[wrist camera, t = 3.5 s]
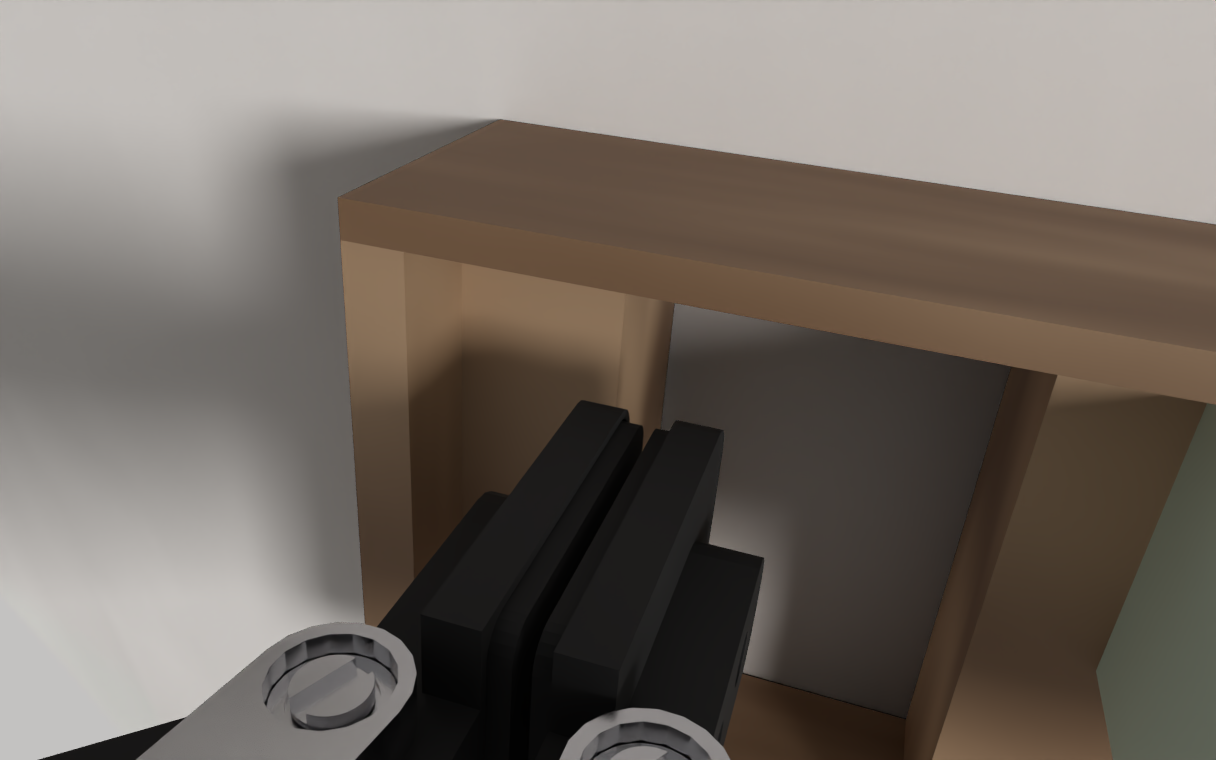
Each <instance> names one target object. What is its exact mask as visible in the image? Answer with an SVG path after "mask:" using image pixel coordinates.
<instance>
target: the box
mask: <svg viewBox="0 0 1216 760" xmlns="http://www.w3.org/2000/svg"><path fill="white" fill-rule="evenodd" d="M338 210H339V226H340V242H341V257H342V273H343V288H344V304H345V320H346V335H347V351H348V366H349V382H350V397H351V413H352V429H353V444H354V460H355V475H356V491H357V507H358V522H359V538H360V553H361V569H362V584H363V600H364V616H365V624H366V625H370V626H373V627H377V626H378V625H379V623H380V622H381V621H382V620H383V618H384V617H385V616H386V614H387V613H388V612H389V611H390V609H391V608H392V607H393V606H394V604H395V603H396V602H397V601H398V599H399V598H400V597H401V596H402V594H403V593H404V592H405V591H406V589H407V588H408V587H409V585H410V584H411V583H412V582H413V580H414V579H415V578H416V577H417V575H418V574H419V573H420V572H421V570H422V569H423V568H424V567H425V565H426V564H427V563H428V562H429V560H430V559H431V558H432V556H433V555H434V554H435V553H436V551H437V550H438V549H439V548H440V546H441V545H442V544H443V543H444V541H445V540H446V539H447V538H448V536H449V535H450V534H451V533H452V531H453V530H454V529H455V527H456V526H457V525H458V524H459V522H460V521H461V520H462V519H463V517H464V516H465V515H466V514H467V512H468V511H469V510H470V509H471V507H472V506H473V505H474V504H475V502H476V501H477V500H478V499H479V498H480V497H481V496H482V495H483V494H484V493H485V492H489V491H494V492H498V493H502V494H506V495H510V493H511V492H512V491H513V489H514V488H515V487H516V485H517V484H518V482H519V481H520V480H521V478H522V477H523V476H524V474H525V473H526V472H527V470H528V469H529V468H530V466H531V465H532V464H533V462H534V461H535V460H536V458H537V457H538V456H539V454H540V453H541V452H542V450H543V449H544V448H545V446H546V445H547V444H548V442H549V441H550V440H551V438H552V437H553V436H554V434H555V433H556V431H557V430H558V429H559V427H560V426H561V425H562V423H563V422H564V421H565V419H566V418H567V417H568V415H569V414H570V413H571V411H572V410H573V409H574V407H575V406H576V405H577V403H578V402H579V401H581V400H586V401H590V402H595V403H600V404H604V405H609V406H613V407H618V408H623V409H627V410H628V412H629V417H630V423H634V424H638V425H642V426H643V430H644V437H643V447H642V451H643V449H644V447H645V445H646V444H647V442H648V440H649V438H650V436H651V435H652V433H653V431H654V430H655V429H661V421H662V412H663V403H664V394H665V385H666V376H667V367H668V358H669V349H670V340H671V331H672V322H673V313H674V304H675V303H677V304H683V305H688V306H693V307H699V308H704V309H709V310H715V311H720V312H725V313H730V314H736V315H741V316H746V317H752V318H757V319H762V320H768V321H773V322H778V323H784V324H789V325H794V326H800V327H805V328H810V329H816V330H821V331H826V332H832V333H837V334H842V335H848V336H853V337H858V338H863V339H869V340H874V341H879V342H885V343H890V344H895V345H901V346H906V347H911V348H917V349H922V350H927V351H933V352H938V353H943V354H949V355H954V356H959V357H965V358H970V359H975V360H980V361H986V362H991V363H996V364H1002V365H1007V366H1012V367H1011V370H1010V373H1009V377H1008V380H1007V383H1006V387H1005V390H1004V393H1003V397H1002V400H1001V403H1000V407H999V410H998V413H997V417H996V420H995V423H994V427H993V430H992V433H991V437H990V440H989V443H988V447H987V450H986V453H985V457H984V460H983V463H982V467H981V470H980V473H979V477H978V480H977V483H976V487H975V490H974V493H973V497H972V500H971V503H970V507H969V510H968V513H967V517H966V520H965V523H964V527H963V530H962V533H961V537H960V540H959V543H958V547H957V550H956V554H955V557H954V560H953V564H952V567H951V570H950V574H949V577H948V580H947V584H946V587H945V590H944V594H943V597H942V600H941V604H940V607H939V610H938V614H937V617H936V620H935V624H934V627H933V630H932V634H931V637H930V640H929V644H928V647H927V650H926V654H925V657H924V660H923V664H922V667H921V670H920V674H919V677H918V680H917V684H916V687H915V690H914V694H913V697H912V700H911V704H910V707H909V710H908V714H907V717H906V719H902V718H899V717H895V716H891V715H888V714H884V713H881V712H877V711H873V710H870V709H866V708H863V707H859V706H856V705H852V704H848V703H845V702H841V701H838V700H834V699H831V698H827V697H823V696H820V695H816V694H813V693H809V692H805V691H802V690H798V689H795V688H791V687H788V686H784V685H780V684H777V683H773V682H770V681H766V680H762V679H759V678H755V677H752V676H748V675H745V674H742V676H741V680H740V684H739V688H738V692H737V696H736V700H735V704H734V708H733V711H732V715H731V719H730V723H729V727H728V730H727V734H726V738H725V742H724V746H723V747H724V749H725V751H726V753H727V754H728V756H729V758H730V760H1113V757H1112V752H1111V747H1110V742H1109V736H1108V731H1107V726H1106V721H1105V715H1104V710H1103V705H1102V700H1101V695H1100V689H1099V684H1098V679H1097V674H1096V670H1097V667H1098V665H1099V662H1100V660H1101V658H1102V655H1103V653H1104V650H1105V648H1106V646H1107V643H1108V641H1109V638H1110V636H1111V634H1112V631H1113V629H1114V626H1115V624H1116V621H1117V619H1118V617H1119V614H1120V612H1121V609H1122V607H1123V605H1124V602H1125V600H1126V597H1127V595H1128V593H1129V590H1130V588H1131V585H1132V583H1133V581H1134V578H1135V576H1136V573H1137V571H1138V568H1139V566H1140V564H1141V561H1142V559H1143V556H1144V554H1145V552H1146V549H1147V547H1148V544H1149V542H1150V540H1151V537H1152V535H1153V532H1154V530H1155V528H1156V525H1157V523H1158V520H1159V518H1160V515H1161V513H1162V511H1163V508H1164V506H1165V503H1166V501H1167V499H1168V496H1169V494H1170V491H1171V489H1172V487H1173V484H1174V482H1175V479H1176V477H1177V475H1178V472H1179V470H1180V467H1181V465H1182V462H1183V460H1184V458H1185V455H1186V453H1187V450H1188V448H1189V446H1190V443H1191V441H1192V438H1193V436H1194V434H1195V431H1196V429H1197V426H1198V424H1199V422H1200V419H1201V417H1202V414H1203V412H1204V410H1205V407H1206V405H1207V403H1209V404H1214V405H1216V225H1213V224H1207V223H1200V222H1193V221H1186V220H1179V219H1173V218H1166V217H1159V216H1152V215H1145V214H1139V213H1132V212H1125V211H1118V210H1112V209H1105V208H1098V207H1091V206H1084V205H1078V204H1071V203H1064V202H1057V201H1050V200H1044V199H1037V198H1030V197H1023V196H1016V195H1010V194H1003V193H996V192H989V191H982V190H976V189H969V188H962V187H955V186H948V185H942V184H935V183H928V182H921V181H914V180H908V179H901V178H894V177H887V176H880V175H874V174H867V173H860V172H853V171H846V170H840V169H833V168H826V167H819V166H813V165H806V164H799V163H792V162H785V161H779V160H772V159H765V158H758V157H751V156H745V155H738V154H731V153H724V152H717V151H711V150H704V149H697V148H690V147H683V146H677V145H670V144H663V143H656V142H649V141H643V140H636V139H629V138H622V137H615V136H609V135H602V134H595V133H588V132H581V131H575V130H568V129H561V128H554V127H547V126H541V125H534V124H527V123H520V122H514V121H507V120H498V121H495V122H493V123H491V124H489V125H487V126H485V127H483V128H481V129H479V130H477V131H475V132H473V133H471V134H468V135H466V136H464V137H462V138H460V139H458V140H456V141H454V142H452V143H450V144H448V145H446V146H444V147H441V148H439V149H437V150H435V151H433V152H431V153H429V154H427V155H425V156H423V157H421V158H419V159H417V160H414V161H412V162H410V163H408V164H406V165H404V166H402V167H400V168H398V169H396V170H394V171H392V172H390V173H388V174H385V175H383V176H381V177H379V178H377V179H375V180H373V181H371V182H369V183H367V184H365V185H363V186H361V187H358V188H356V189H354V190H352V191H350V192H348V193H346V194H344V195H342V196H340V197H338Z"/></svg>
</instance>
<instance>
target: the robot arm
mask: <svg viewBox="0 0 1216 760" xmlns="http://www.w3.org/2000/svg"><path fill="white" fill-rule="evenodd" d="M643 437H644V430H643V426H642V425H638V424H634V423H630V417H629V412H628V410H627V409H623V408H618V407H613V406H609V405H604V404H600V403H595V402H590V401H586V400H581V401H579V402H578V403H577V405H576V406H575V407H574V409H573V410H572V411H571V413H570V414H569V415H568V417H567V418H566V419H565V421H564V422H563V423H562V425H561V426H560V427H559V429H558V430H557V431H556V433H555V434H554V436H553V437H552V438H551V440H550V441H549V442H548V444H547V445H546V446H545V448H544V449H543V450H542V452H541V453H540V454H539V456H538V457H537V458H536V460H535V461H534V462H533V464H532V465H531V466H530V468H529V469H528V470H527V472H526V473H525V474H524V476H523V477H522V478H521V480H520V481H519V482H518V484H517V485H516V487H515V488H514V489H513V491H512V492H511V493H510V495H506V494H502V493H498V492H494V491H489V492H485V493H484V494H483V495H482V496H481V497H480V498H479V499H478V500H477V501H476V502H475V504H474V505H473V506H472V507H471V509H470V510H469V511H468V512H467V514H466V515H465V516H464V517H463V519H462V520H461V521H460V522H459V524H458V525H457V526H456V527H455V529H454V530H453V531H452V533H451V534H450V535H449V536H448V538H447V539H446V540H445V541H444V543H443V544H442V545H441V546H440V548H439V549H438V550H437V551H436V553H435V554H434V555H433V556H432V558H431V559H430V560H429V562H428V563H427V564H426V565H425V567H424V568H423V569H422V570H421V572H420V573H419V574H418V575H417V577H416V578H415V579H414V580H413V582H412V583H411V584H410V585H409V587H408V588H407V589H406V591H405V592H404V593H403V594H402V596H401V597H400V598H399V599H398V601H397V602H396V603H395V604H394V606H393V607H392V608H391V609H390V611H389V612H388V613H387V614H386V616H385V617H384V618H383V620H382V621H381V622H380V623H379V625H378V626H377V627H373V626H370V625H366V624H363V623H344V622H336V623H330V624H323V625H317V626H312V627H309V628H307V629H304V630H301V631H299V632H296V633H293V634H291V635H288V636H287V637H285V638H284V639H282V640H280V641H279V642H277V643H276V644H274V645H273V646H271V647H270V648H268V649H267V650H266V651H264V652H263V653H262V654H261V655H260V656H258V657H257V658H256V659H255V660H254V661H253V662H251V663H250V664H249V665H248V666H247V667H245V668H244V669H243V670H242V671H241V672H239V673H238V674H237V675H236V676H235V677H234V678H232V679H231V680H230V681H229V682H228V683H226V684H225V685H224V686H223V687H222V688H220V689H219V690H218V691H217V692H216V693H215V694H213V695H212V696H211V697H210V698H209V699H207V700H206V701H205V702H204V703H203V704H201V705H200V706H199V707H198V708H197V709H196V710H194V711H193V712H192V713H191V714H190V715H188V716H187V717H185V718H182V719H179V720H175V721H172V722H168V723H165V724H161V725H158V726H154V727H151V728H147V729H144V730H140V731H137V732H133V733H130V734H126V735H123V736H119V737H116V738H112V739H109V740H105V741H102V742H98V743H95V744H92V745H88V746H85V747H81V748H78V749H74V750H71V751H67V752H64V753H60V754H57V755H53V756H50V757H46V758H43V759H39V760H730V758H729V756H728V754H727V753H726V751H725V749H724V747H723V746H724V742H725V738H726V734H727V730H728V727H729V723H730V719H731V715H732V711H733V708H734V704H735V700H736V696H737V692H738V688H739V684H740V680H741V676H742V672H743V668H744V664H745V659H746V655H747V650H748V646H749V641H750V636H751V631H752V627H753V621H754V616H755V611H756V606H757V600H758V595H759V589H760V584H761V578H762V573H763V566H764V558H763V557H759V556H755V555H751V554H746V553H742V552H738V551H734V550H730V549H726V548H722V547H718V546H714V545H710V544H709V538H710V531H711V524H712V517H713V511H714V504H715V497H716V491H717V484H718V477H719V471H720V464H721V457H722V451H723V443H724V430H720V429H715V428H711V427H706V426H701V425H697V424H692V423H688V422H683V421H678V420H676V421H675V423H674V424H673V426H672V428H671V430H670V431H666V430H661V429H655V430H654V431H653V433H652V435H651V436H650V438H649V440H648V442H647V444H646V445H645V447H644V449H643V451H642V447H643Z"/></svg>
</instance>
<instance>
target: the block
mask: <svg viewBox="0 0 1216 760" xmlns="http://www.w3.org/2000/svg"><path fill="white" fill-rule="evenodd" d="M1096 674H1097V679H1098V684H1099V689H1100V695H1101V700H1102V705H1103V710H1104V715H1105V721H1106V726H1107V731H1108V736H1109V742H1110V747H1111V752H1112V757H1113V760H1216V405H1214V404H1209V403H1207V405H1206V407H1205V410H1204V412H1203V414H1202V417H1201V419H1200V422H1199V424H1198V426H1197V429H1196V431H1195V434H1194V436H1193V438H1192V441H1191V443H1190V446H1189V448H1188V450H1187V453H1186V455H1185V458H1184V460H1183V462H1182V465H1181V467H1180V470H1179V472H1178V475H1177V477H1176V479H1175V482H1174V484H1173V487H1172V489H1171V491H1170V494H1169V496H1168V499H1167V501H1166V503H1165V506H1164V508H1163V511H1162V513H1161V515H1160V518H1159V520H1158V523H1157V525H1156V528H1155V530H1154V532H1153V535H1152V537H1151V540H1150V542H1149V544H1148V547H1147V549H1146V552H1145V554H1144V556H1143V559H1142V561H1141V564H1140V566H1139V568H1138V571H1137V573H1136V576H1135V578H1134V581H1133V583H1132V585H1131V588H1130V590H1129V593H1128V595H1127V597H1126V600H1125V602H1124V605H1123V607H1122V609H1121V612H1120V614H1119V617H1118V619H1117V621H1116V624H1115V626H1114V629H1113V631H1112V634H1111V636H1110V638H1109V641H1108V643H1107V646H1106V648H1105V650H1104V653H1103V655H1102V658H1101V660H1100V662H1099V665H1098V667H1097V670H1096Z"/></svg>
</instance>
